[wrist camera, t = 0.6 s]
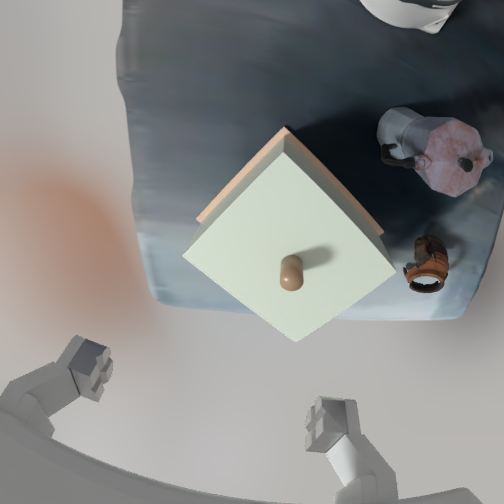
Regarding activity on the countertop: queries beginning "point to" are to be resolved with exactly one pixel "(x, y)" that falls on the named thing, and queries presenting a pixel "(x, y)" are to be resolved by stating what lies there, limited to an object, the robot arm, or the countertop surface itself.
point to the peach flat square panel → (311, 157)
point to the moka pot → (433, 149)
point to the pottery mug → (428, 264)
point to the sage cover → (290, 244)
